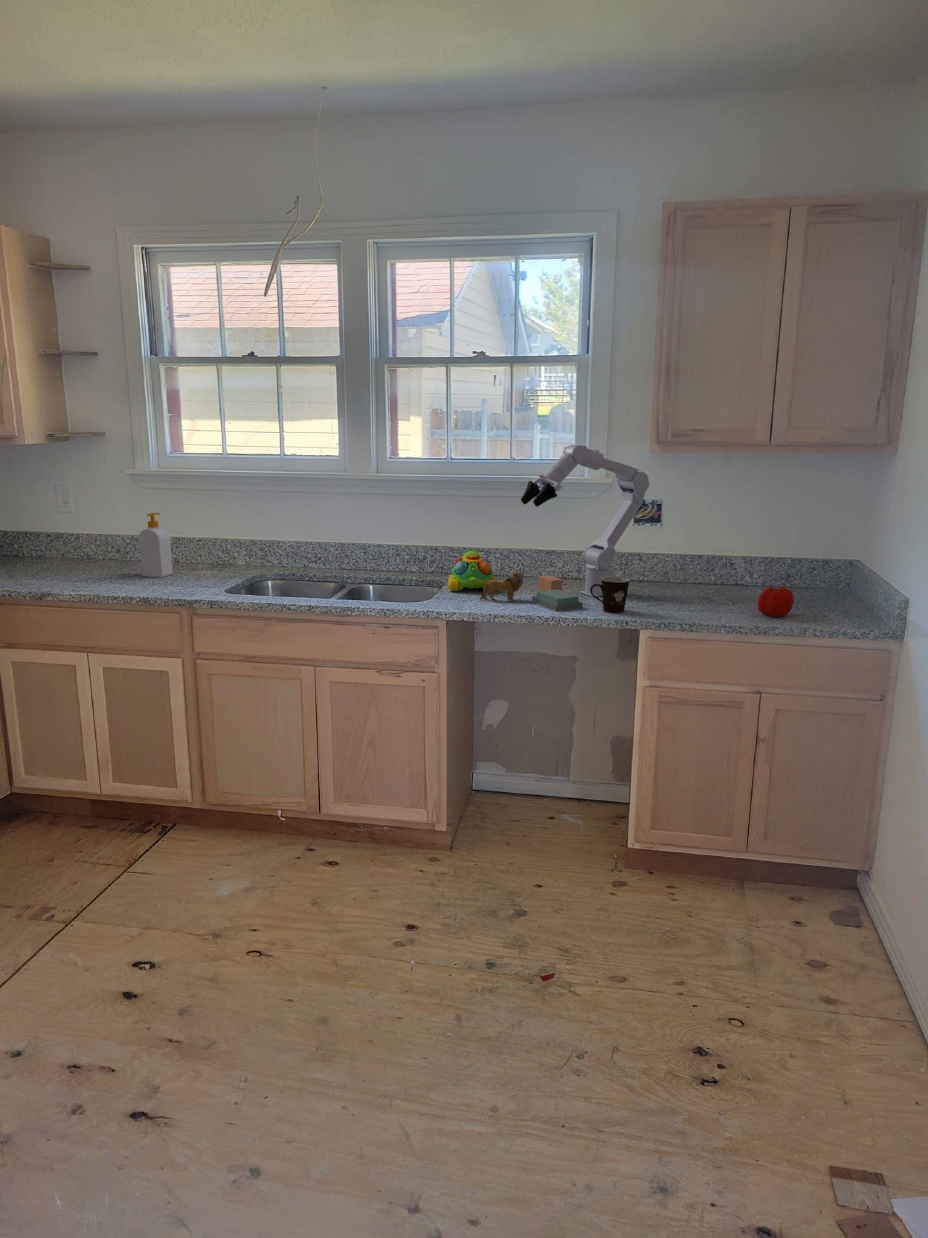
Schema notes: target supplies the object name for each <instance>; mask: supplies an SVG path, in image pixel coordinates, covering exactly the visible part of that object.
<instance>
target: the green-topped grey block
mask: <svg viewBox="0 0 928 1238" xmlns="http://www.w3.org/2000/svg"><path fill="white" fill-rule="evenodd" d="M531 599H532V600H531V601H532V602H531V603H534V604H536V605H539V606H540V607H544V606H545V607H544V608H546V607H547V608H546V609H549V610H551V609H552V610H551V611H554V610H555V612H560V611H559V610H562V611H568V610H569V611H571V610H579V609H583V605H584V604H583V602H582V601H580V600H579V596H578V595H576V594H575V595H574V594H572V593H570V592H566V591H564V590H562V591H561V590H558V589H555V590H546V591H538V590H537V591H536V595H534V596H531ZM570 609H571V610H570Z"/></svg>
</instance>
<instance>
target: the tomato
mask: <svg viewBox="0 0 928 1238" xmlns="http://www.w3.org/2000/svg"><path fill="white" fill-rule="evenodd" d="M794 600H795V599H794V594H793V591H792V590H790V589H788V588H786V587H784V586H780V587H777V588H774V587H773V586H768V587H766V588H765V589H764V590H763V591H762V592H761V593H760V595H759V596H758V600H757V609H758V611H759V612H760V613H761V614H763V615H764V616H769V617H771V616H773V617H772V618H774V617H776V618H780V617H781V616H783V617H784V616H787V615H788V614H789V613H790V612H791V610H792V608H793V606H794V602H795V601H794ZM781 618H782V617H781Z"/></svg>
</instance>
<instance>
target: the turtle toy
mask: <svg viewBox="0 0 928 1238" xmlns="http://www.w3.org/2000/svg"><path fill="white" fill-rule="evenodd" d="M490 563H491V562H490V560H489V559H488V558H487V557H482V556H481V555H480V554H479V553H478V552H477V551H474V550H471V551H467V552H465V553H464V554H463V556H462V557H458V558H457V559H456V560H455V561H454V565H455V566H454V567H453V569H452V574H449V576H448V579H447V582H448V584H447V586H448V590H449V592H456V593H458V592H460V591H462V590H464V589H465V588H466V589H470V590H472V589H482V590H483V591H484V587H485V585H486V583H487V582H488V581H490V580H496V576H495V575H494V573H493V568H492V565H491V564H490ZM496 581H497V580H496ZM487 587H488V586H487ZM486 590H487V588H486ZM457 591H458V592H457ZM496 591H497V590H495V592H496Z"/></svg>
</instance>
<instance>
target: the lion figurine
mask: <svg viewBox="0 0 928 1238" xmlns="http://www.w3.org/2000/svg"><path fill="white" fill-rule="evenodd" d="M523 575H524V574H523V573H521V572H517V571H516V572H514V573H512V574H511V576H509V577H507V578H506V579H505V580H490V581H488V582H487V583H486V585H485V587H484V590H483V592H482V595H481V596H480V598H479V600H481V601H482V600H488V597H487V594H489V598H490V599H491V601H492V602H497V599H496V598H494V595H495V592H496V591H498V592H500V593H506V598H507V600H510V601H511V602H515V598H514V592H518V591H519V590H520V588H521V587H522V586H523V584H524V578H523ZM487 586H488V587H487ZM486 588H487V590H486ZM495 590H496V591H495Z"/></svg>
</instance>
